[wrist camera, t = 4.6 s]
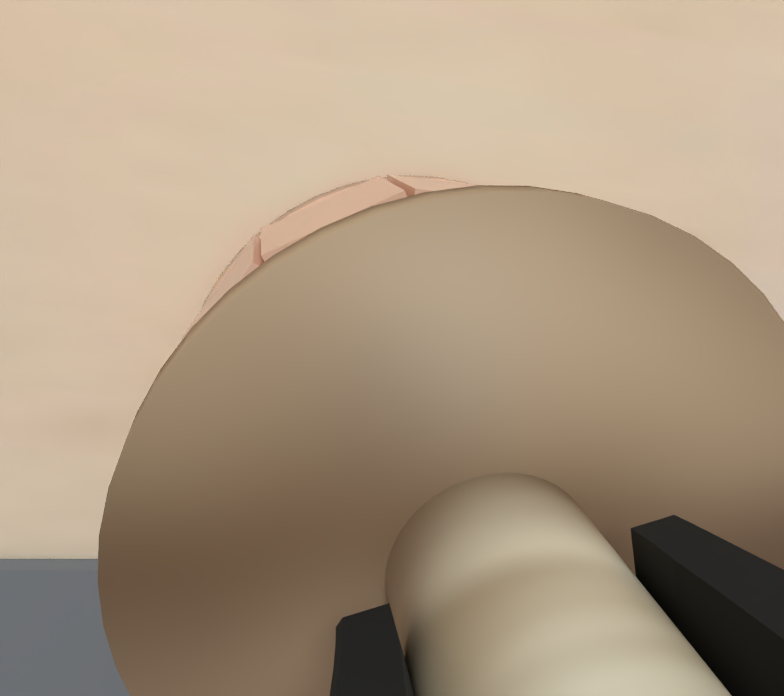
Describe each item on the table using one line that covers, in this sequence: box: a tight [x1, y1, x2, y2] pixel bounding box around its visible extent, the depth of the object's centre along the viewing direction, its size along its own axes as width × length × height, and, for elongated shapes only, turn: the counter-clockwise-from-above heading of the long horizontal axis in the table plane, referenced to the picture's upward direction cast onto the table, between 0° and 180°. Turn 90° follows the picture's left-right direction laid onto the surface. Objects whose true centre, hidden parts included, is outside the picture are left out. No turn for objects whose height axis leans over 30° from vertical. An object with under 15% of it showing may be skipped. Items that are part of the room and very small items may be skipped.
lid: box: [98, 185, 784, 696], centre depth 9 cm, size 11×11×5 cm
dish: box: [182, 174, 476, 340], centre depth 14 cm, size 10×10×4 cm
